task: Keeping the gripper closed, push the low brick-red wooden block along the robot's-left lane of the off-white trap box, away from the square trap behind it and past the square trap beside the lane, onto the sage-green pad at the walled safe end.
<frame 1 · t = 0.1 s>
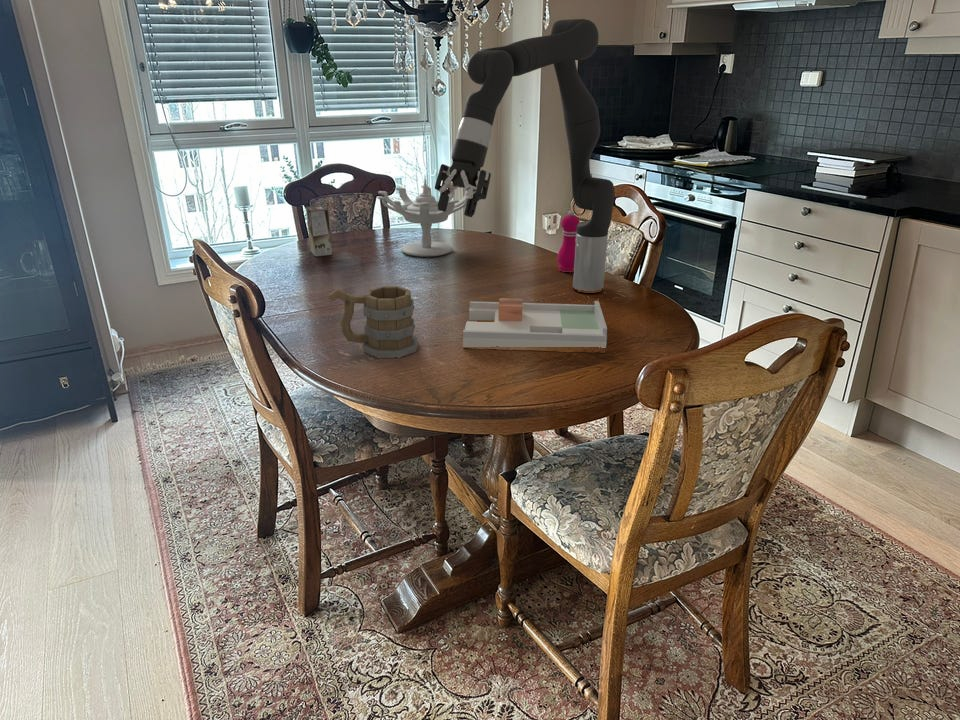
hand: (454, 213, 150), 31 cm above the table, tool tilted 20°, fingers open, 8 cm apart
block: (510, 316, 169), point 3 cm above the table, touching trap box
tankard: (375, 348, 158), on the table
coffee box: (321, 253, 237), on the table
trap box: (533, 334, 167), on the table
candelabra: (427, 252, 240), on the table
pepper mill: (567, 271, 219), on the table
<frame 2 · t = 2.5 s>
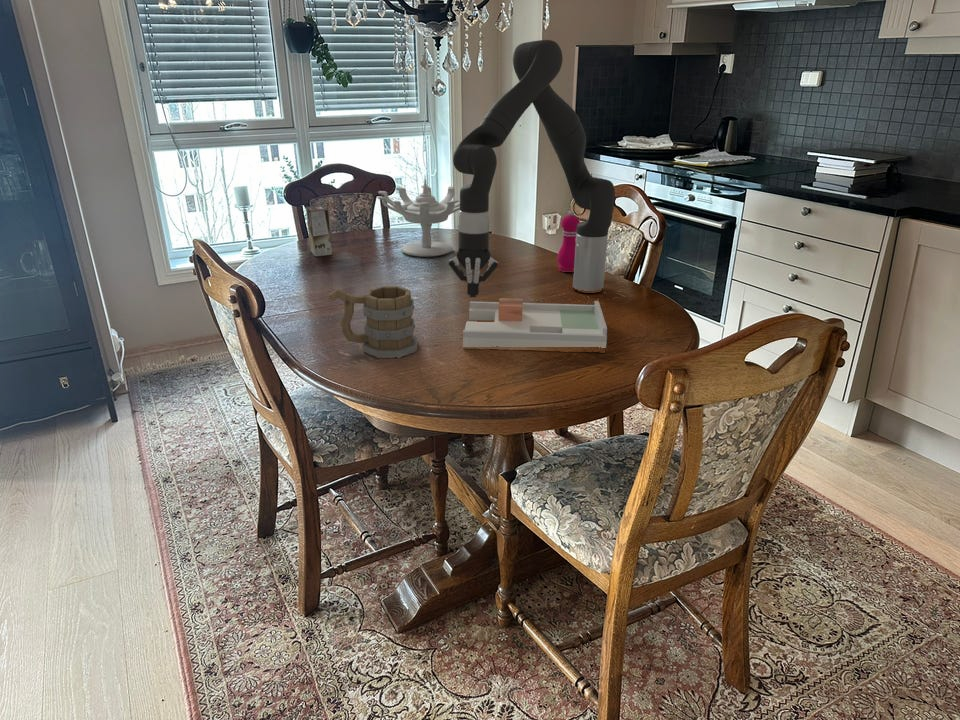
hand: (472, 296, 168), 8 cm above the table, tool pointing down, fingers closed
nothing on the table moved.
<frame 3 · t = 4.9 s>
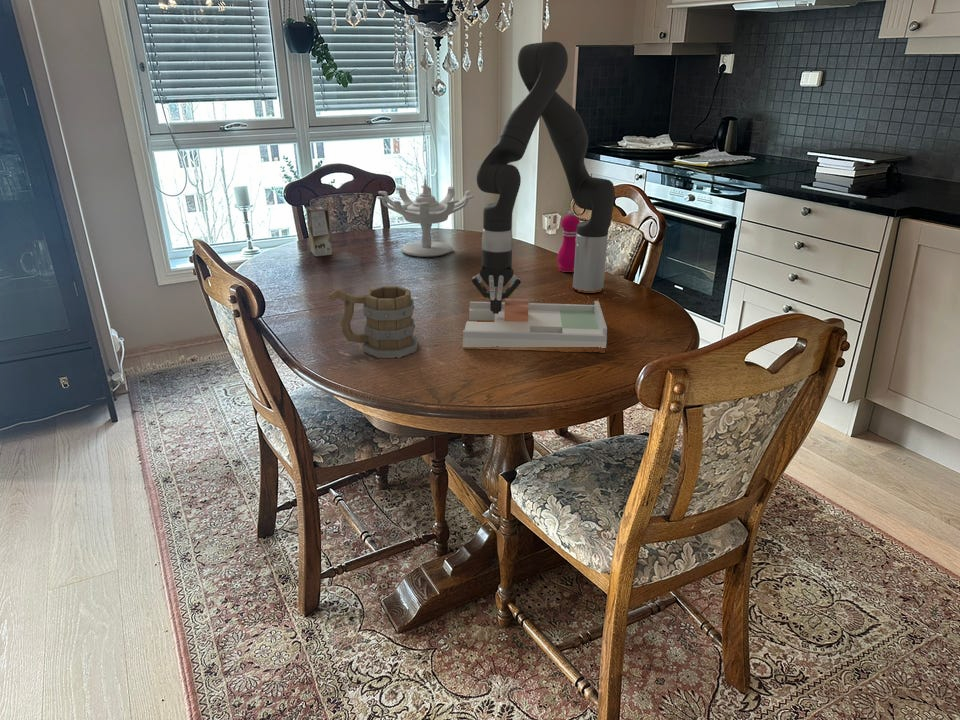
hand: (495, 312, 169), 4 cm above the table, tool pointing down, fingers closed
block: (516, 317, 169), point 3 cm above the table, touching gripper, trap box
everything else where it was.
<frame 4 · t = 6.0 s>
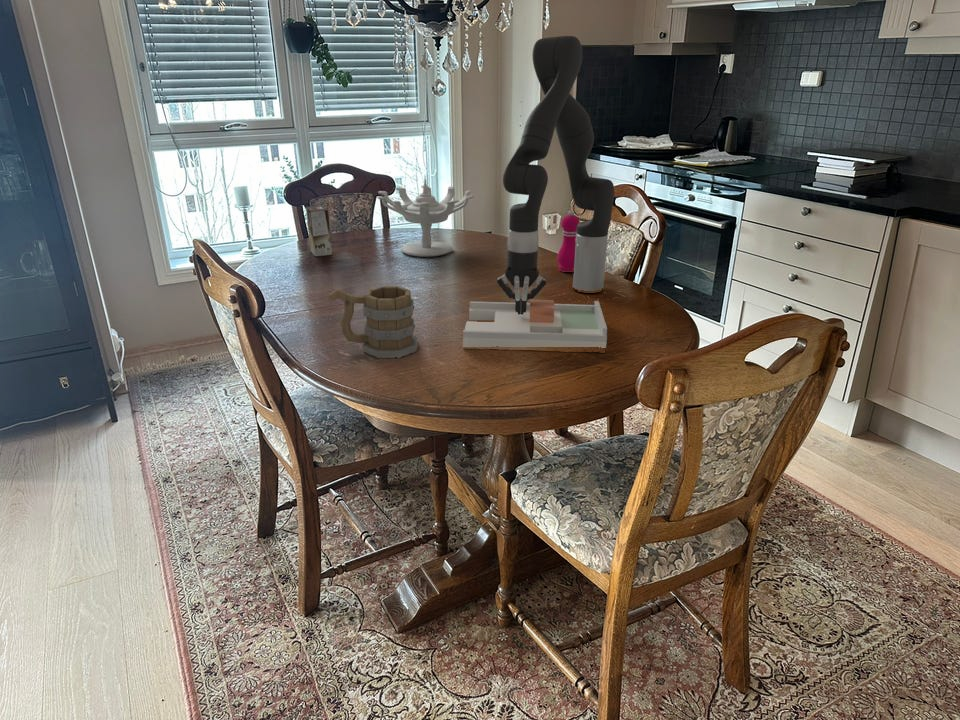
hand: (520, 313, 169), 4 cm above the table, tool pointing down, fingers closed
block: (541, 318, 169), point 3 cm above the table, touching trap box
everything else where it was.
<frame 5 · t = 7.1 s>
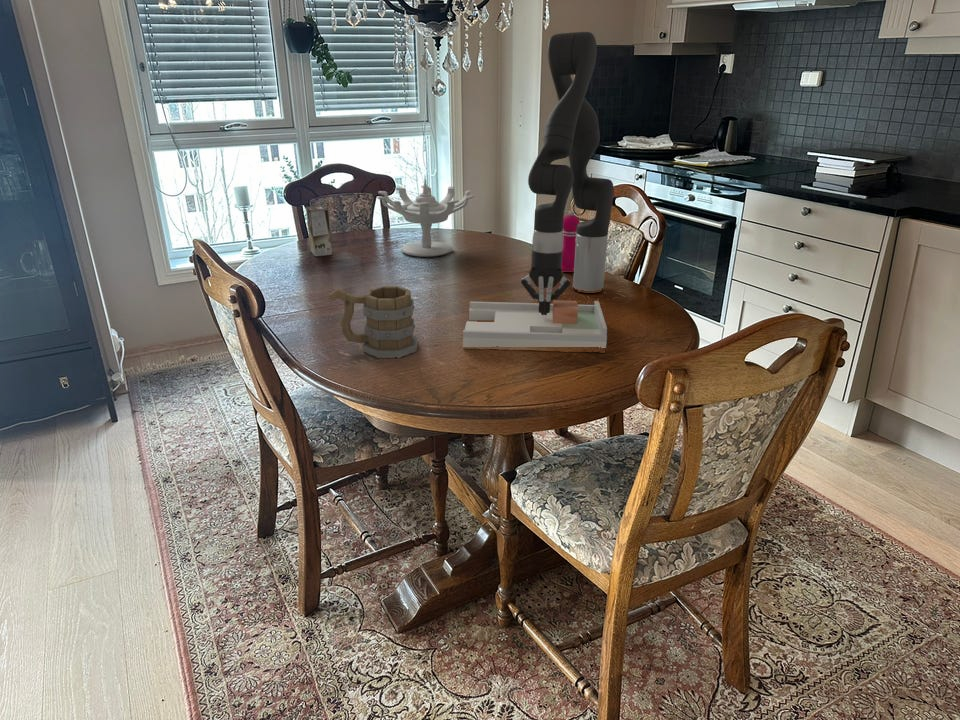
hand: (543, 314, 169), 4 cm above the table, tool pointing down, fingers closed
block: (564, 319, 168), point 3 cm above the table, touching gripper, trap box
everything else where it was.
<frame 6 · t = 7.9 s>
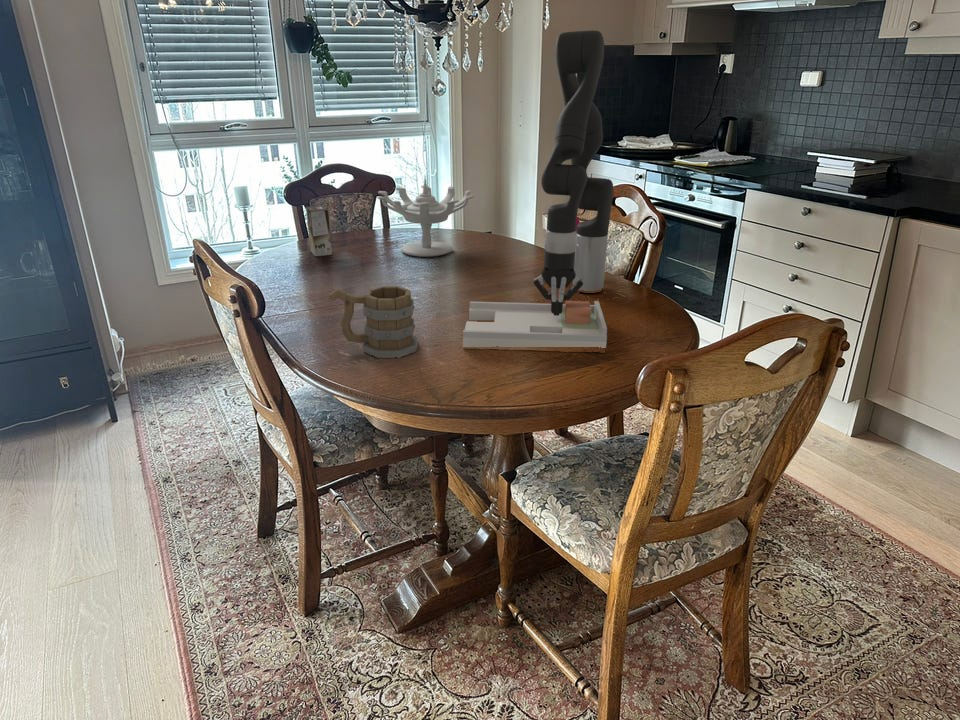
hand: (556, 314, 168), 4 cm above the table, tool pointing down, fingers closed
block: (576, 319, 168), point 3 cm above the table, touching gripper
everything else where it was.
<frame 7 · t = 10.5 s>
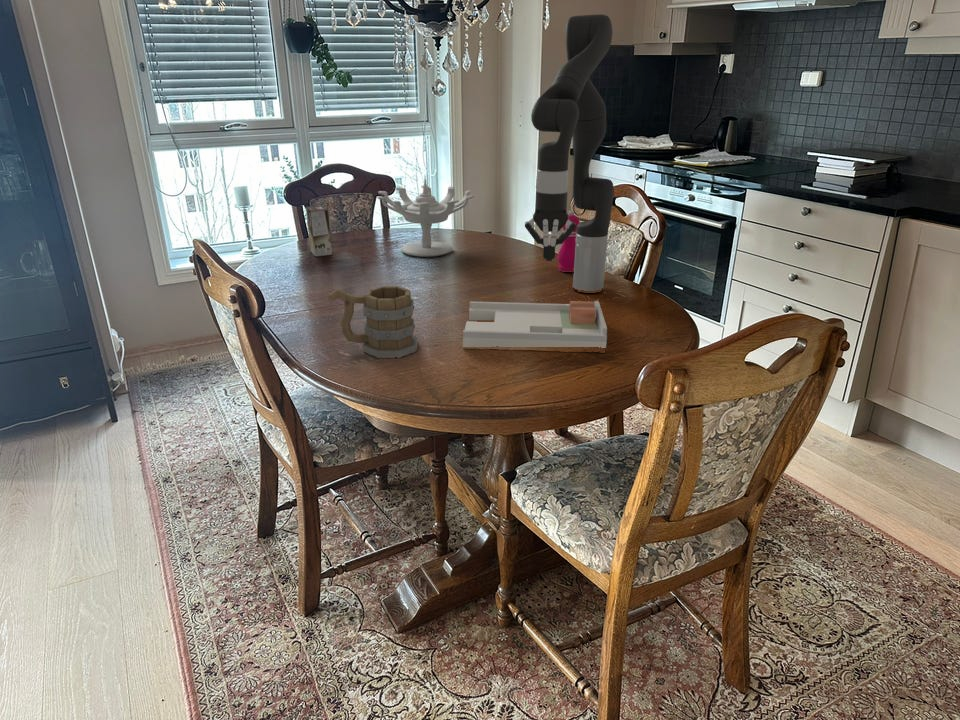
hand: (548, 260, 163), 18 cm above the table, tool pointing down, fingers closed
block: (581, 320, 168), point 3 cm above the table, touching trap box
everything else where it was.
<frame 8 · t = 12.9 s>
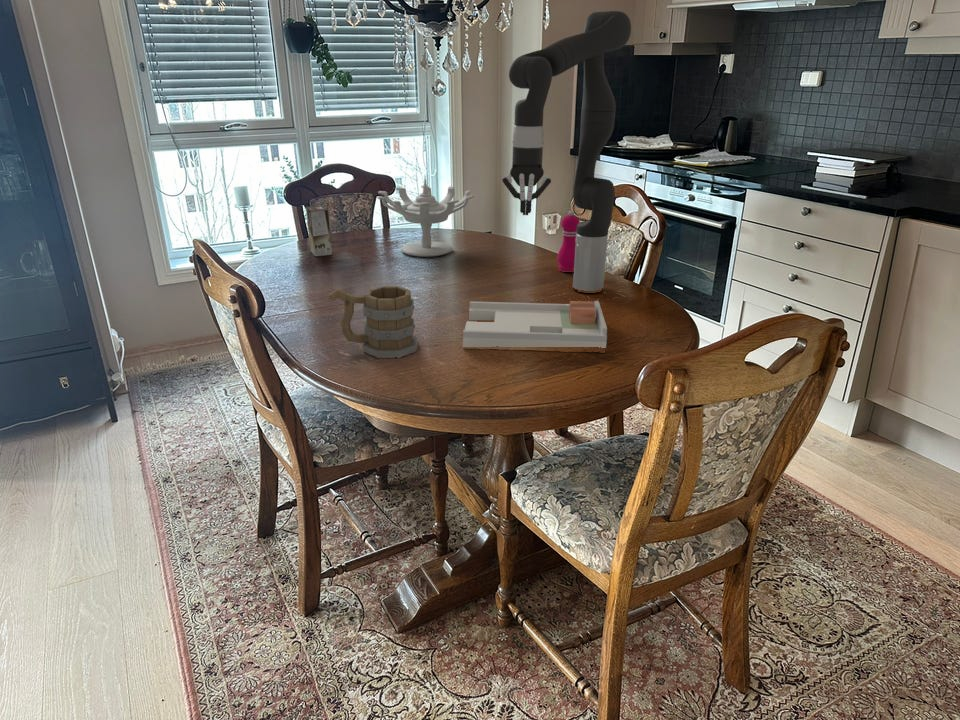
hand: (525, 214, 170), 27 cm above the table, tool pointing down, fingers closed
nothing on the table moved.
at the end: block inside the target area (0.5 cm from its centre), point 3.0 cm above the table; block tilted 0° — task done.
